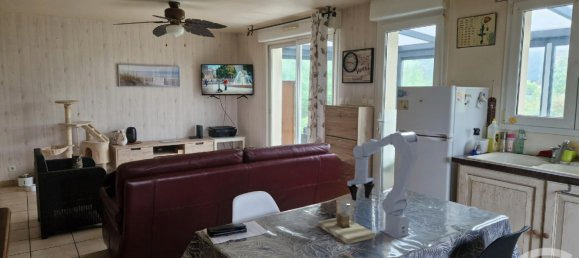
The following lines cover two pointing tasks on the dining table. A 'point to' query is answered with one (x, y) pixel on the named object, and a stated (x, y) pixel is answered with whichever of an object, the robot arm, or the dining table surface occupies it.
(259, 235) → the dining table surface
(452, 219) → the dining table surface
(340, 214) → the walnut flat peg
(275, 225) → the dining table surface
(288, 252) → the dining table surface
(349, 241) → the slot board
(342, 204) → the metal round peg
